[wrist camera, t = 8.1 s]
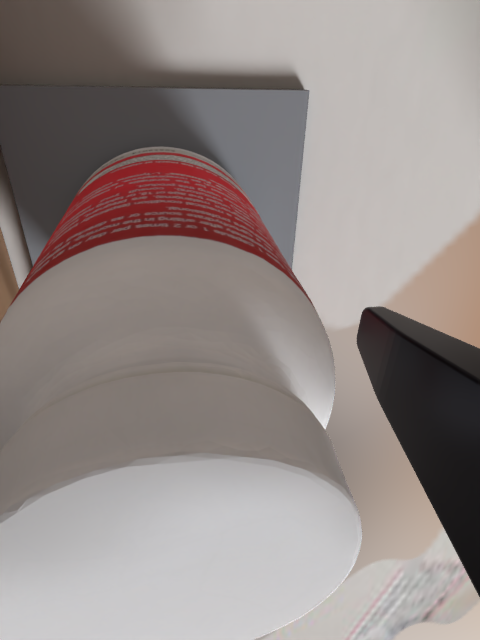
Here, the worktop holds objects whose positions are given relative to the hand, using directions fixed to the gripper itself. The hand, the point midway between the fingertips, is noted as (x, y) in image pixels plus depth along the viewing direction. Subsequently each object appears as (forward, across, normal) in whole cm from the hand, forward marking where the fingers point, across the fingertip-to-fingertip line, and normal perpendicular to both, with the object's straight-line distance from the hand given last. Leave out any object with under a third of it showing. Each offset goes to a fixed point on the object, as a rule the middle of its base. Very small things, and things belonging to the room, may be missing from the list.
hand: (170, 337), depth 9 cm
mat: (+6, 0, 0) cm, 6 cm away
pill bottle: (+6, 0, 0) cm, 6 cm away
